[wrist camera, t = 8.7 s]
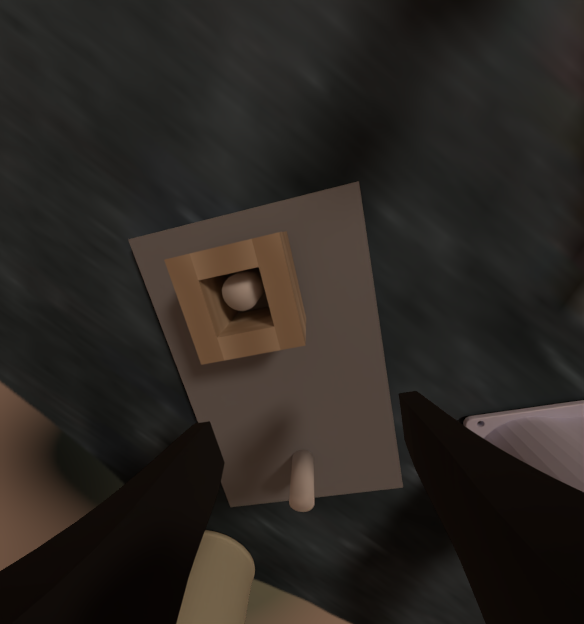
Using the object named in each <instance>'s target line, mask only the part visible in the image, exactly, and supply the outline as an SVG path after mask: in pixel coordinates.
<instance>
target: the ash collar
mask: <svg viewBox="0 0 584 624" xmlns="http://www.w3.org/2000/svg"><path fill="white" fill-rule="evenodd" d="M164 261H165V264H166V266H167V269H168V272H169V275H170V278H171V281H172V283H173V286H174V289H175V292H176V295H177V297H178V300H179V303H180V306H181V309H182V312H183V314H184V317H185V320H186V323H187V326H188V328H189V331H190V334H191V337H192V340H193V343H194V345H195V348H196V351H197V354H198V357H199V360H200V362H201V365H203V364H208V363H213V362H219V361H224V360H230V359H235V358H241V357H246V356H251V355H257V354H262V353H268V352H273V351H279V350H284V349H289V348H295V347H300V346H305V343H306V315H305V311H304V306H303V302H302V297H301V293H300V288H299V284H298V279H297V275H296V270H295V266H294V261H293V257H292V253H291V248H290V244H289V239H288V235H287V231H285V232H278V233H274V234H269V235H265V236H261V237H257V238H253V239H249V240H244V241H240V242H236V243H232V244H228V245H223V246H219V247H215V248H211V249H207V250H203V251H198V252H194V253H190V254H186V255H182V256H177V257H173V258H169V259H165V260H164ZM256 267H259V269H260V273H261V277H262V281H263V285H264V289H265V293H266V296H267V300H268V304H269V307H264V308H260V309H255V310H250V311H245V312H240V313H238V310H235V309H233V308H231V307H229V306H228V305H227V304H226V302H225V301H224V299H223V296H222V287H223V284H224V282H225V281H226V280H227V279H228V277H227V274H229V273H234V272H238V271H243V270H247V269H252V268H256Z"/></svg>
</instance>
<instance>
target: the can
mask: <svg viewBox="0 0 584 624" xmlns="http://www.w3.org/2000/svg"><path fill="white" fill-rule="evenodd" d="M254 574H255V566H254V561H253V559H252V557H251V555H250V553H249V552H248V551H247V550H246V548H245V547H244V546H243V545H241V544H240V543H239V542H237V541H236V540H234V539H233V538H231V537H229V536H227V535H224V534H222V533H218V532H214V531H209V530H205V532H204V534H203V537H202V540H201V543H200V546H199V549H198V551H197V554H196V557H195V560H194V563H193V566H192V569H191V572H190V575H189V578H188V582H187V586H186V589H185V593H184V597H183V601H182V604H181V608H180V612H179V616H178V619H177V623H176V624H245V617H246V611H247V606H248V600H249V595H250V589H251V584H252V581H253V578H254Z"/></svg>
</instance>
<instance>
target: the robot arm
mask: <svg viewBox="0 0 584 624" xmlns="http://www.w3.org/2000/svg"><path fill="white" fill-rule="evenodd" d="M399 399H400V407H401V415H402V423H403V431H404V439H405V442H406V445H407V448H408V451H409V453H410V456H411V459H412V461H413V464H414V467H415V469H416V471H417V473H418V475H419V477H420V479H421V482H422V484H423V486H424V488H425V490H426V492H427V494H428V496H429V498H430V500H431V502H432V504H433V506H434V508H435V510H436V512H437V514H438V516H439V518H440V520H441V522H442V524H443V526H444V528H445V530H446V532H447V534H448V536H449V538H450V540H451V542H452V544H453V546H454V548H455V550H456V552H457V555H458V557H459V559H460V561H461V564H462V566H463V569H464V571H465V573H466V576H467V578H468V581H469V583H470V586H471V588H472V591H473V593H474V595H475V598H476V600H477V603H478V605H479V608H480V610H481V613H482V615H483V618H484V620H485V623H486V624H584V400H581V401H574V402H567V403H559V404H552V405H545V406H538V407H531V408H524V409H517V410H510V411H503V412H496V413H489V414H482V415H475V416H469V417H467V418H465V419H464V422H463V425H462V424H461V423H460V422H458V421H457V420H455V419H454V418H452V417H451V416H450V415H448V414H447V413H445V412H444V411H443V410H441V409H440V408H439V407H437V406H436V405H435V404H433V403H432V402H431V401H429V400H428V399H427V398H425V397H424V396H423V395H421V394H420V393H419V392H417V391H413V392H406V393H399ZM479 421H481V422H480V423H478V422H479ZM224 464H225V462H224V459H223V457H222V454H221V451H220V448H219V445H218V442H217V440H216V437H215V434H214V431H213V428H212V426H211V423H210V421H208V422H201V423H195V424H194V425H193V426H191V427H190V428H189V429H188V430H186V431H185V432H184V433H183V434H182V435H181V436H180V437H178V438H177V439H176V440H175V441H174V442H173V443H172V444H171V445H170V446H168V447H167V448H166V449H165V450H164V451H163V452H162V453H161V454H159V455H158V456H157V457H156V458H155V459H154V460H153V461H152V462H151V463H149V464H148V465H147V466H146V467H145V468H144V469H142V470H141V471H140V472H139V473H138V474H137V475H135V476H134V477H133V478H132V479H131V480H129V481H128V482H127V483H126V484H125V485H124V486H122V487H121V488H120V489H119V490H118V491H116V492H115V493H114V494H113V495H111V496H110V497H109V498H108V499H106V500H105V501H104V502H102V503H101V504H100V505H98V506H97V507H96V508H94V509H93V510H92V511H90V512H89V513H88V514H86V515H85V516H84V517H82V518H81V519H79V520H78V521H77V522H75V523H74V524H72V525H71V526H69V527H68V528H66V529H65V530H63V531H62V532H60V533H59V534H57V535H56V536H54V537H53V538H51V539H50V540H48V541H47V542H46V543H44V544H43V545H41V546H40V547H38V548H37V549H35V550H34V551H32V552H30V553H29V554H27V555H26V556H24V557H22V558H21V559H19V560H18V561H16V562H14V563H13V564H11V565H10V566H8V567H6V568H5V569H3V570H1V571H0V624H176V623H177V619H178V616H179V612H180V608H181V604H182V601H183V597H184V593H185V589H186V586H187V582H188V578H189V575H190V572H191V569H192V566H193V563H194V560H195V557H196V554H197V551H198V549H199V546H200V543H201V540H202V537H203V534H204V532H205V529H206V526H207V523H208V520H209V517H210V515H211V512H212V509H213V506H214V503H215V500H216V497H217V494H218V491H219V487H220V483H221V479H222V474H223V469H224Z"/></svg>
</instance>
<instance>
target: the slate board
mask: <svg viewBox="0 0 584 624" xmlns="http://www.w3.org/2000/svg"><path fill="white" fill-rule="evenodd" d="M285 231H287V235H288V239H289V244H290V248H291V253H292V257H293V261H294V266H295V270H296V275H297V279H298V284H299V288H300V293H301V297H302V302H303V306H304V311H305V315H306V343H305V346H300V347H295V348H289V349H284V350H279V351H273V352H268V353H262V354H257V355H251V356H246V357H241V358H235V359H230V360H224V361H219V362H213V363H208V364H203V365H201V362H200V360H199V357H198V354H197V351H196V348H195V345H194V343H193V340H192V337H191V334H190V331H189V328H188V326H187V323H186V320H185V317H184V314H183V312H182V309H181V306H180V303H179V300H178V297H177V295H176V292H175V289H174V286H173V283H172V281H171V278H170V275H169V272H168V269H167V266H166V264H165V261H164V260H165V259H169V258H173V257H177V256H182V255H186V254H190V253H194V252H198V251H203V250H207V249H211V248H215V247H219V246H223V245H228V244H232V243H236V242H240V241H244V240H249V239H253V238H257V237H261V236H265V235H269V234H274V233H278V232H285ZM128 240H129V243H130V246H131V248H132V251H133V254H134V256H135V259H136V261H137V264H138V267H139V269H140V272H141V274H142V277H143V280H144V282H145V285H146V288H147V290H148V293H149V295H150V298H151V301H152V303H153V306H154V308H155V311H156V314H157V316H158V319H159V321H160V324H161V327H162V329H163V332H164V335H165V337H166V340H167V342H168V345H169V348H170V350H171V353H172V355H173V358H174V361H175V363H176V366H177V369H178V371H179V374H180V376H181V379H182V382H183V384H184V387H185V389H186V392H187V395H188V397H189V400H190V402H191V405H192V408H193V410H194V413H195V416H196V418H197V421H198V423H201V422H208V421H210V423H211V426H212V428H213V431H214V434H215V437H216V440H217V442H218V445H219V448H220V451H221V454H222V457H223V459H224V462H225V464H224V469H223V474H222V479H221V483H222V486H223V489H224V491H225V494H226V497H227V499H228V502H229V504H230V507H236V506H245V505H253V504H262V503H271V502H280V501H288V500H289V504H290V506H291V507H292V508H293V509H294V510H296V511H299V512H306V511H309V510H311V509H312V508H313V506H314V498H315V497H323V496H332V495H341V494H350V493H358V492H367V491H376V490H385V489H393V488H402V487H403V483H402V476H401V469H400V462H399V455H398V449H397V442H396V435H395V428H394V421H393V414H392V407H391V400H390V393H389V386H388V379H387V372H386V366H385V359H384V352H383V345H382V338H381V331H380V324H379V317H378V310H377V303H376V296H375V289H374V282H373V276H372V269H371V262H370V255H369V248H368V241H367V234H366V227H365V220H364V213H363V206H362V199H361V192H360V186H359V181H358V182H354V183H350V184H346V185H342V186H338V187H334V188H330V189H326V190H323V191H319V192H315V193H311V194H307V195H303V196H299V197H295V198H291V199H287V200H283V201H279V202H275V203H271V204H267V205H263V206H259V207H255V208H251V209H247V210H243V211H239V212H235V213H231V214H227V215H224V216H220V217H216V218H212V219H208V220H204V221H200V222H196V223H192V224H188V225H184V226H180V227H176V228H172V229H168V230H164V231H160V232H156V233H152V234H148V235H144V236H140V237H136V238H132V239H128ZM227 277H228V279H227V280H226V281H225V282H224V284H223V287H222V296H223V299H224V301H225V302H226V304H227V305H228V306H229V307H231V308H233V309H235V310H238V313H240V312H245V311H250V310H255V309H260V308H264V307H269V304H268V300H267V296H266V293H265V289H264V285H263V281H262V277H261V273H260V269H259V267H256V268H252V269H247V270H243V271H238V272H234V273H229V274H227Z"/></svg>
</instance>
